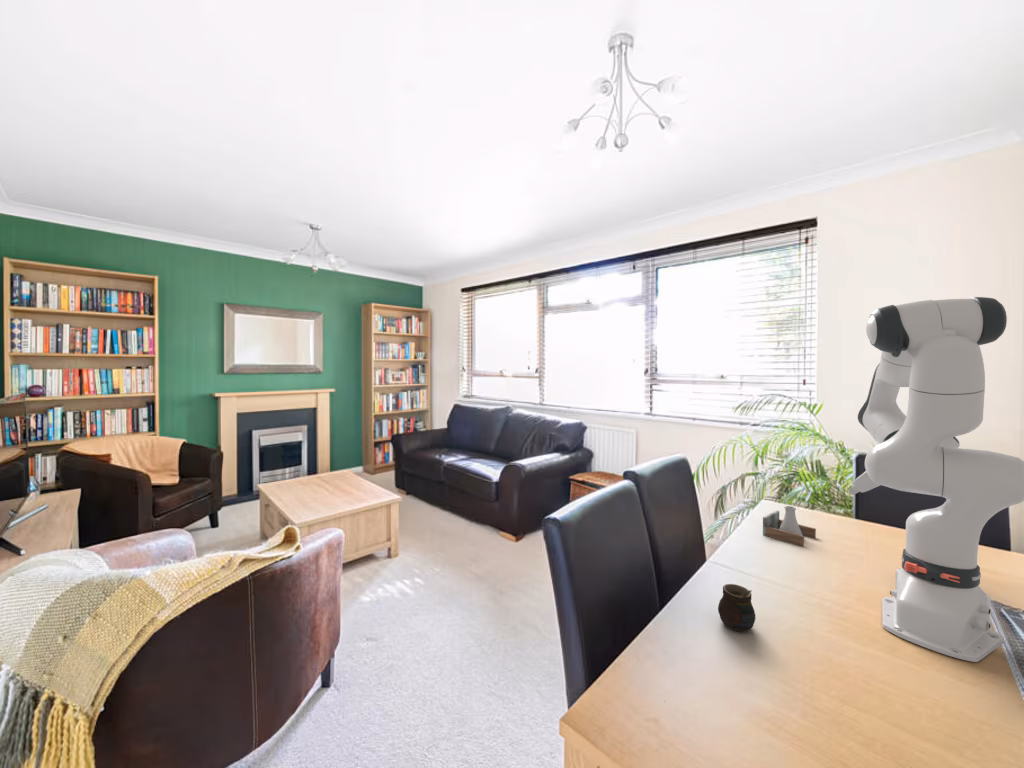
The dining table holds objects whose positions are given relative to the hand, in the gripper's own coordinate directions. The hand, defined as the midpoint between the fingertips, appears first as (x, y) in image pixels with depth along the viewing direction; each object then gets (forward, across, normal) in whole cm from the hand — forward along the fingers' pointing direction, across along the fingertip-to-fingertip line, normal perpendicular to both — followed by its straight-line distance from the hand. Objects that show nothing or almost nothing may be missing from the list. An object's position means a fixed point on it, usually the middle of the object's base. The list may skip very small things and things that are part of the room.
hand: (851, 492), depth 128 cm
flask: (+24, +2, +2) cm, 24 cm away
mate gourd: (+18, +68, +12) cm, 72 cm away
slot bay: (+24, +2, +2) cm, 24 cm away
